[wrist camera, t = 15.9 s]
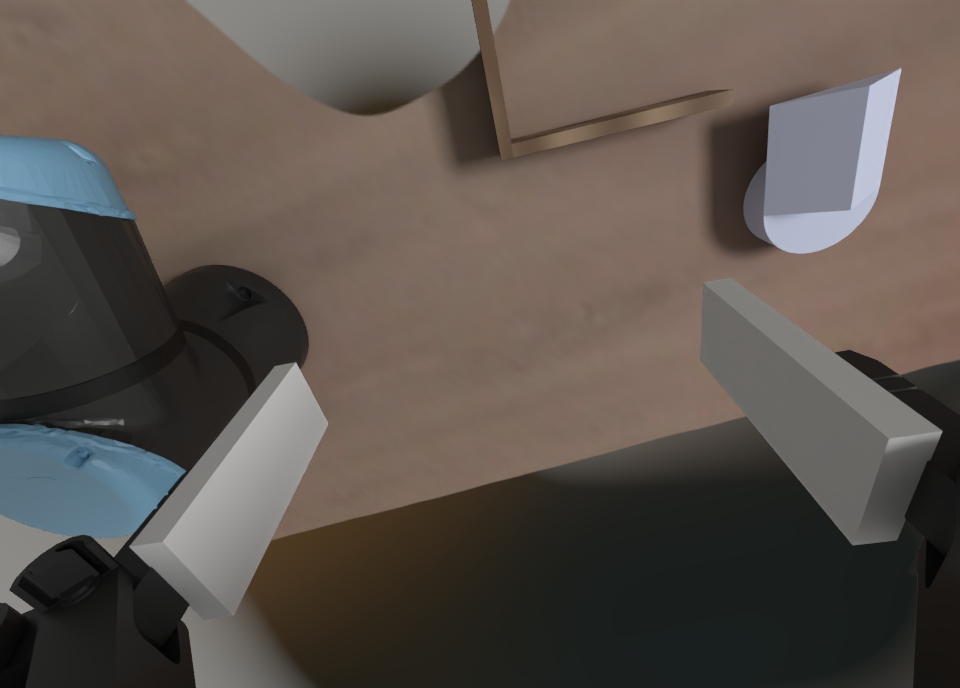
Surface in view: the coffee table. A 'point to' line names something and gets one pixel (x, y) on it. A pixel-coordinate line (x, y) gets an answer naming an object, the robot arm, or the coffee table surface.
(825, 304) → the coffee table surface
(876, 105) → the wedge on round base
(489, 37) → the shelf bay
